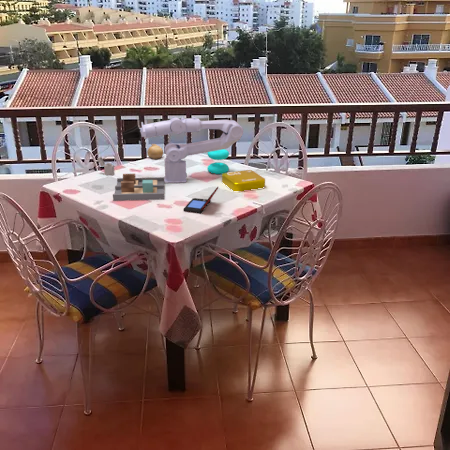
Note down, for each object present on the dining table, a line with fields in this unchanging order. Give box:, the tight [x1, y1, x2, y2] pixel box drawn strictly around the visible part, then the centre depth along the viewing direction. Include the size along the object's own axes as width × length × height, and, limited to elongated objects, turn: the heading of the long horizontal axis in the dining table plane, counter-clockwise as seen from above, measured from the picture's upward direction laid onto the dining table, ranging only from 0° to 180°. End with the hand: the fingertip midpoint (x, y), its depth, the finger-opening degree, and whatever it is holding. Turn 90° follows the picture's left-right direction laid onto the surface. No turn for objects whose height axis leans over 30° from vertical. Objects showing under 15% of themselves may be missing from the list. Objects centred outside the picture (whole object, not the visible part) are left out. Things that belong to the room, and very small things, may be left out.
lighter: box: [97, 156, 116, 176], centre depth 215 cm, size 7×2×8 cm, turn 77°
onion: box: [146, 143, 164, 160], centre depth 240 cm, size 8×8×7 cm
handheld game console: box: [183, 186, 219, 215], centre depth 182 cm, size 12×11×7 cm
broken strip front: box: [122, 173, 138, 185], centre depth 201 cm, size 6×8×5 cm
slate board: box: [112, 176, 165, 202], centre depth 198 cm, size 20×20×2 cm
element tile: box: [221, 169, 266, 192], centre depth 207 cm, size 15×15×5 cm
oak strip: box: [121, 181, 157, 194], centre depth 192 cm, size 14×8×5 cm, turn 97°
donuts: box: [206, 149, 230, 175], centre depth 222 cm, size 10×10×10 cm
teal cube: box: [142, 180, 153, 193], centre depth 193 cm, size 4×4×4 cm
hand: (123, 135), depth 199 cm, fingers open, 7 cm apart
